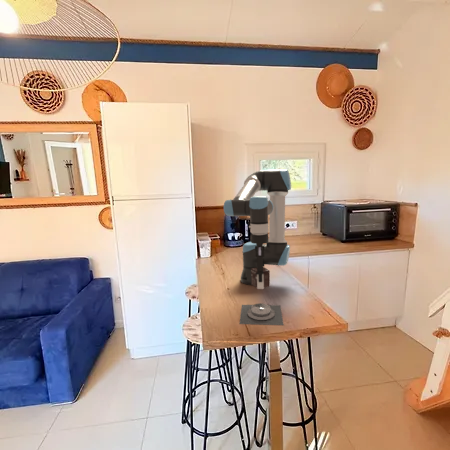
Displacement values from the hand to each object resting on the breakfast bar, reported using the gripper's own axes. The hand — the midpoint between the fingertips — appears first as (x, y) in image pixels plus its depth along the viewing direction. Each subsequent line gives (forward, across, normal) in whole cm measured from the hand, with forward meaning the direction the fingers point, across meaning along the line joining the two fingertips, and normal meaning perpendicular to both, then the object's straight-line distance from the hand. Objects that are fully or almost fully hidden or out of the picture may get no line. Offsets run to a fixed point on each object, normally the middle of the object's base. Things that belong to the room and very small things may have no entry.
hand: (260, 284), depth 120 cm
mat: (+14, 0, 0) cm, 14 cm away
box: (+1, 0, 0) cm, 1 cm away
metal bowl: (+14, 0, 0) cm, 14 cm away
